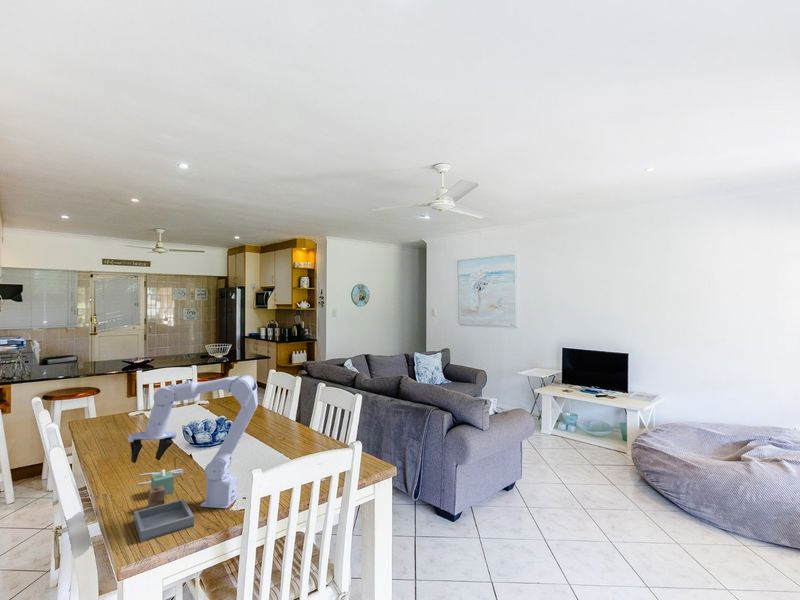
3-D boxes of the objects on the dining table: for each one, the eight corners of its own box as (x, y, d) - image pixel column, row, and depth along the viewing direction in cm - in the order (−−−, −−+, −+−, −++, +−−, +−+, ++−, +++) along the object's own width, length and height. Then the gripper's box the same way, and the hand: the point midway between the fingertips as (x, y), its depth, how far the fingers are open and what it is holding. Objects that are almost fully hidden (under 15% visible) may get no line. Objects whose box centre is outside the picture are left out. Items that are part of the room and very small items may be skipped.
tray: (183, 507, 136) (183, 498, 136) (194, 526, 125) (194, 516, 125) (133, 521, 127) (133, 511, 127) (140, 542, 116) (140, 531, 116)
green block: (169, 487, 150) (170, 465, 150) (173, 493, 146) (173, 471, 146) (150, 491, 146) (151, 469, 146) (153, 498, 142) (154, 475, 142)
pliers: (139, 472, 159) (182, 465, 167) (139, 476, 159) (182, 469, 167) (137, 482, 151) (183, 474, 158) (137, 486, 151) (182, 478, 158)
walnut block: (161, 503, 138) (162, 485, 138) (164, 507, 135) (164, 489, 135) (148, 506, 136) (148, 488, 136) (150, 511, 133) (150, 493, 133)
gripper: (174, 416, 146) (162, 453, 145) (130, 417, 134) (117, 457, 134) (183, 423, 141) (171, 461, 141) (138, 425, 130) (125, 467, 129)
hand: (145, 460), depth 137 cm, fingers open, 7 cm apart
